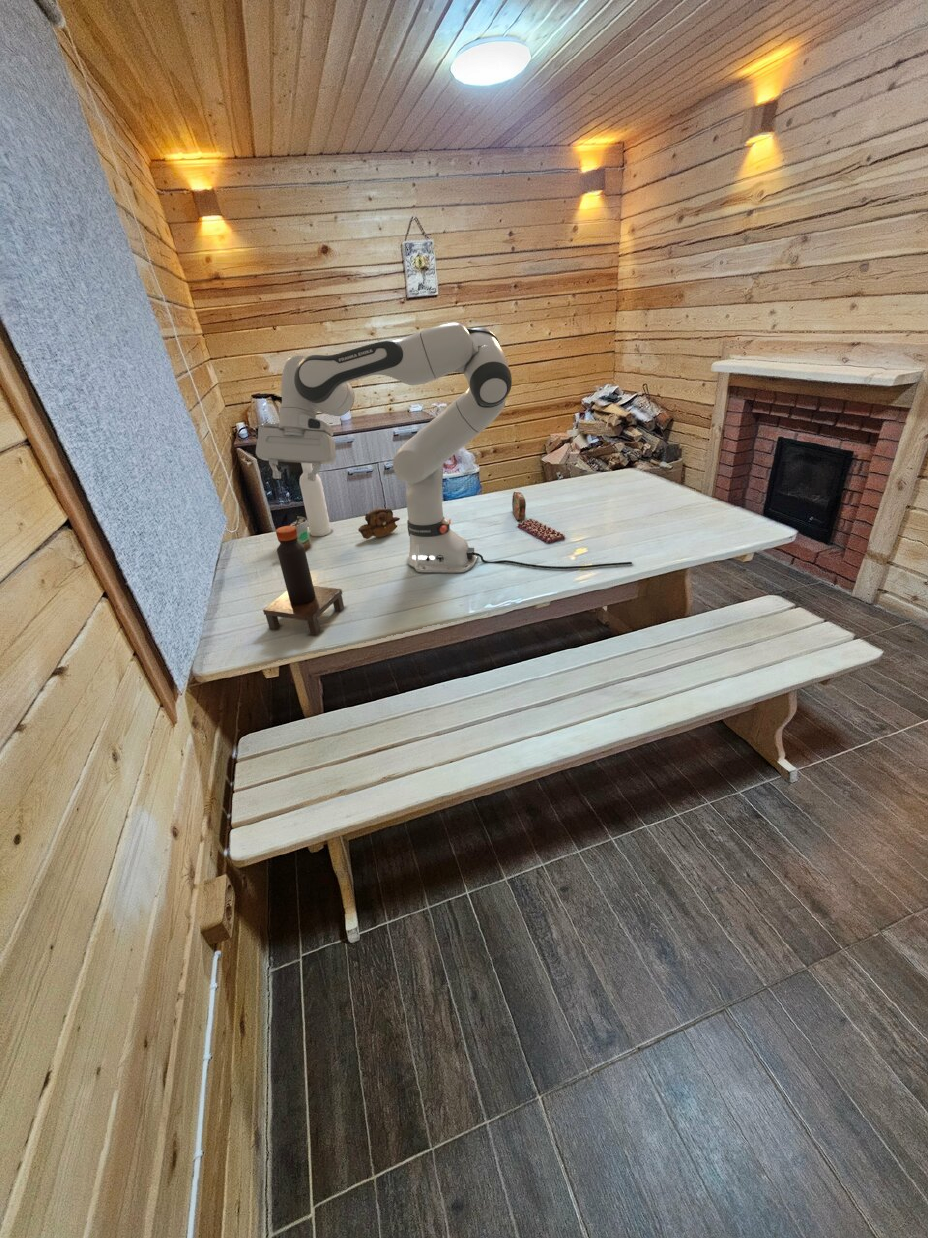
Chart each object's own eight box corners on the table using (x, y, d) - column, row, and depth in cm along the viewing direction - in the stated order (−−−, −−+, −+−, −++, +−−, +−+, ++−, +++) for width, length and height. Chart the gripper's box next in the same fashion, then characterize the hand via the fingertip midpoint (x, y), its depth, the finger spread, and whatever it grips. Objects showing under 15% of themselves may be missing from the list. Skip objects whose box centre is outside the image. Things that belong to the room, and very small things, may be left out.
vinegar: (284, 603, 138) (265, 533, 128) (300, 591, 143) (283, 523, 133) (305, 607, 136) (288, 535, 125) (320, 594, 141) (305, 525, 131)
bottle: (313, 538, 193) (295, 456, 177) (308, 531, 199) (290, 451, 183) (334, 533, 196) (318, 452, 180) (328, 527, 202) (312, 448, 186)
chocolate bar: (532, 522, 195) (533, 517, 194) (564, 538, 180) (564, 533, 179) (516, 526, 192) (516, 521, 191) (547, 543, 178) (547, 537, 177)
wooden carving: (366, 544, 185) (361, 517, 180) (359, 541, 188) (354, 514, 183) (403, 531, 194) (400, 505, 189) (396, 528, 197) (393, 502, 192)
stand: (345, 607, 147) (341, 589, 144) (317, 636, 135) (312, 616, 132) (299, 602, 151) (295, 583, 148) (268, 629, 139) (262, 609, 136)
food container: (303, 556, 179) (297, 529, 174) (287, 555, 180) (280, 528, 175) (319, 542, 189) (313, 515, 184) (303, 541, 190) (297, 515, 185)
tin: (511, 509, 208) (511, 488, 203) (519, 509, 208) (519, 488, 204) (518, 523, 195) (518, 501, 191) (526, 522, 195) (526, 500, 191)
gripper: (252, 418, 131) (249, 474, 132) (330, 422, 128) (326, 479, 130) (265, 426, 137) (262, 479, 138) (339, 430, 135) (336, 484, 136)
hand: (294, 479), depth 134 cm, fingers open, 8 cm apart
